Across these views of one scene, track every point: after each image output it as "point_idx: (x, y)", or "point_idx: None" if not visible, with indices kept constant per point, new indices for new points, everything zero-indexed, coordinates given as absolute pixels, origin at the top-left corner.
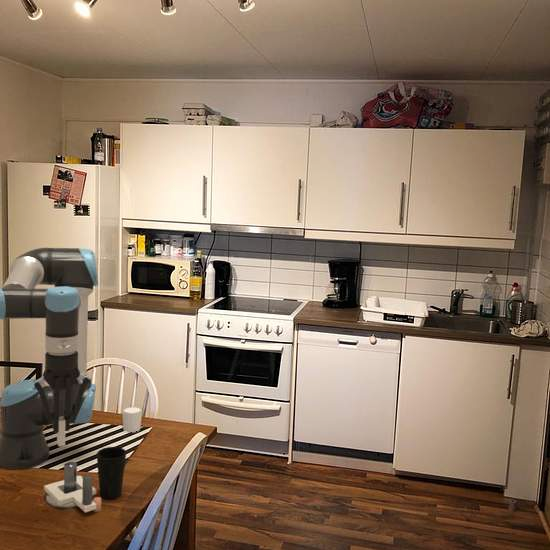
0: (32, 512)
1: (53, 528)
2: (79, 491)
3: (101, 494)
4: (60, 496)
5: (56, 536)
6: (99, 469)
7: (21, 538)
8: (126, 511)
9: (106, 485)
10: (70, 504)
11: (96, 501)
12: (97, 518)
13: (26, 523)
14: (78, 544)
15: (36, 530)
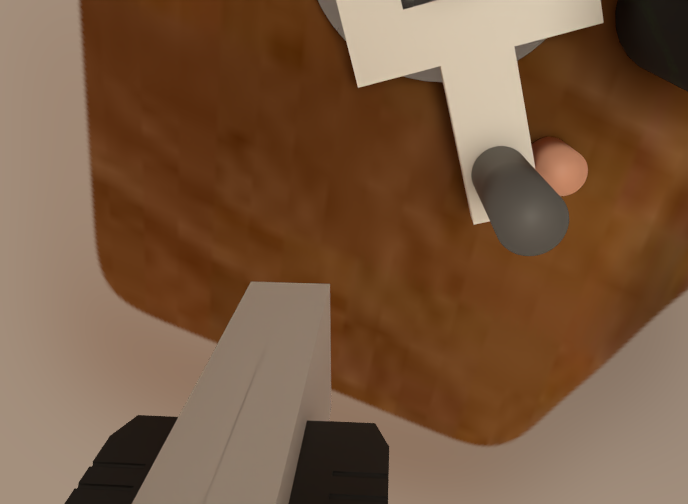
0: (220, 48)
1: (306, 246)
2: (494, 8)
3: (622, 32)
4: (369, 31)
5: None
6: (676, 41)
7: (165, 271)
8: (683, 234)
9: (668, 79)
10: (420, 79)
11: None
12: None
13: (188, 151)
14: (387, 406)
15: (230, 232)
